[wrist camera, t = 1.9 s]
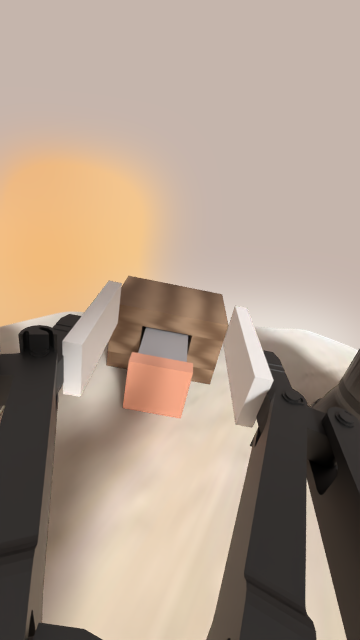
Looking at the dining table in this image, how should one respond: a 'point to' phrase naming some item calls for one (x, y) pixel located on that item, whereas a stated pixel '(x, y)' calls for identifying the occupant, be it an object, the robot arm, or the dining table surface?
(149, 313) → the block
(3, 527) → the robot arm
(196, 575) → the dining table surface
